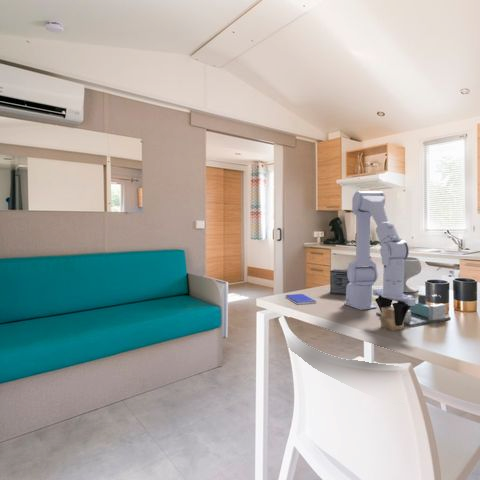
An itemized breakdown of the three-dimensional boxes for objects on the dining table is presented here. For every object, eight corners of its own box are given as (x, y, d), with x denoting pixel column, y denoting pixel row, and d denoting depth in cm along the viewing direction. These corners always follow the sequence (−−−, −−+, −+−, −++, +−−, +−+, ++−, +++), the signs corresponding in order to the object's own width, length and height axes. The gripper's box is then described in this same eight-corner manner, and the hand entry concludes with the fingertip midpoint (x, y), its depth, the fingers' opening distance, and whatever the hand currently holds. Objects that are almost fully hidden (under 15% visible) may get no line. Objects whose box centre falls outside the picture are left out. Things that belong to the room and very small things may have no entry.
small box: (357, 293, 147) (357, 270, 146) (353, 296, 142) (354, 272, 141) (333, 290, 153) (334, 268, 152) (329, 293, 147) (329, 270, 147)
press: (376, 314, 116) (376, 299, 115) (414, 308, 123) (414, 294, 122) (410, 326, 103) (410, 310, 102) (450, 319, 110) (451, 303, 109)
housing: (381, 326, 104) (381, 307, 103) (391, 324, 105) (392, 305, 105) (392, 330, 99) (393, 311, 99) (403, 328, 101) (403, 309, 101)
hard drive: (316, 300, 131) (303, 293, 143) (297, 302, 129) (285, 294, 141) (316, 304, 131) (303, 297, 143) (297, 306, 129) (285, 298, 141)
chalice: (401, 294, 144) (402, 260, 143) (380, 287, 158) (381, 257, 157) (427, 292, 148) (429, 259, 147) (405, 286, 161) (406, 256, 160)
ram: (403, 309, 118) (403, 293, 117) (411, 308, 119) (412, 292, 119) (428, 317, 108) (428, 299, 108) (437, 315, 110) (438, 298, 110)
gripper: (366, 276, 106) (365, 317, 107) (403, 285, 93) (402, 332, 94) (382, 275, 109) (381, 315, 110) (421, 283, 96) (419, 328, 97)
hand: (392, 322), depth 102 cm, fingers closed on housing, 4 cm apart
